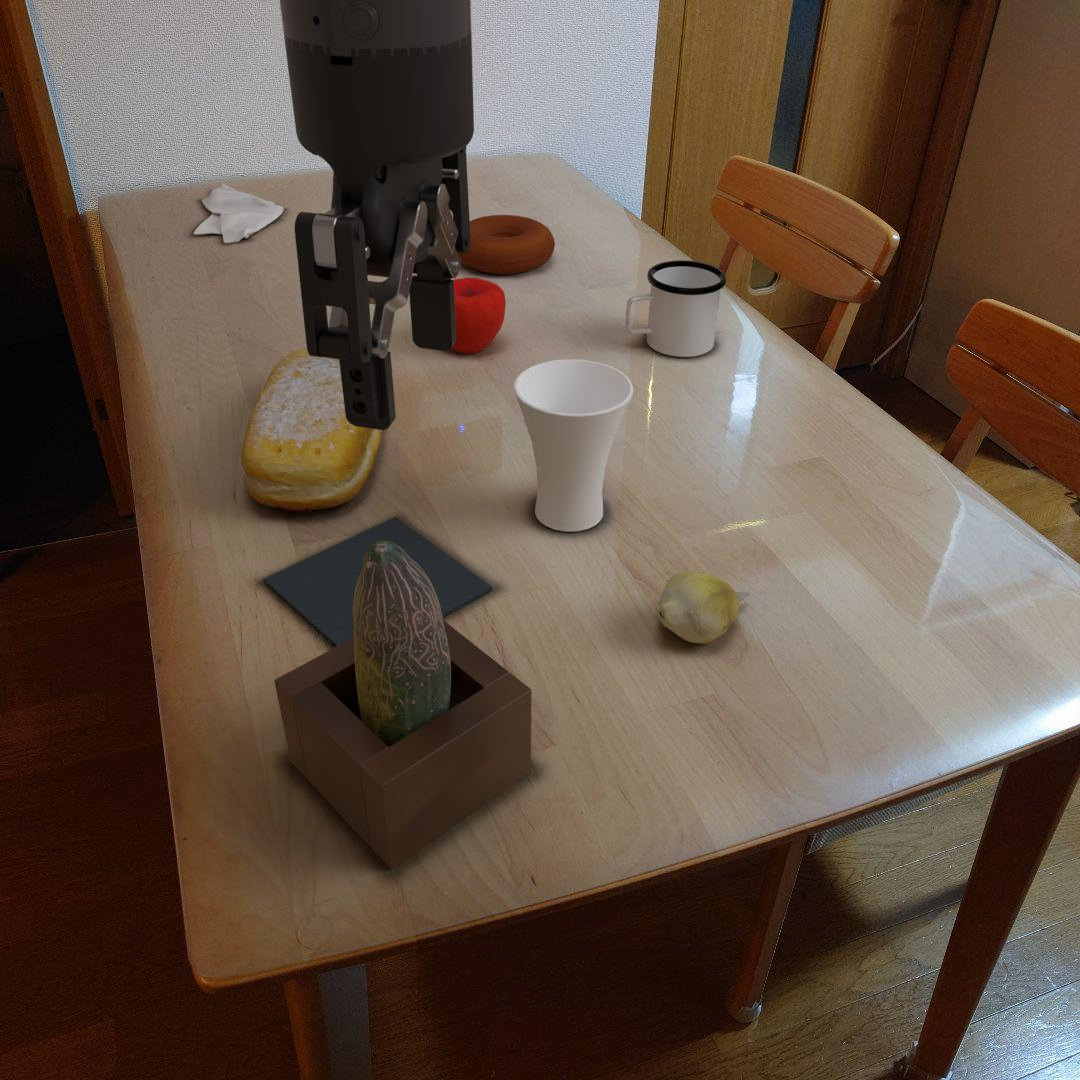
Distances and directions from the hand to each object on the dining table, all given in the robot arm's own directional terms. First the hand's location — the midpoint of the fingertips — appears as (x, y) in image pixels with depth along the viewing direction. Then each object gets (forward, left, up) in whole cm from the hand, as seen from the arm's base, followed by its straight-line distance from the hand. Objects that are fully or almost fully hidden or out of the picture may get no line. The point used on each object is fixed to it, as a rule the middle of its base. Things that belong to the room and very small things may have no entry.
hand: (405, 383), depth 50 cm
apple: (+46, +52, -32) cm, 77 cm away
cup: (+30, +18, -32) cm, 47 cm away
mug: (+65, +36, -32) cm, 81 cm away
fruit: (+27, -1, -32) cm, 42 cm away
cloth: (+49, +114, -32) cm, 128 cm away
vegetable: (0, +3, -32) cm, 32 cm away
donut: (+68, +71, -32) cm, 103 cm away
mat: (+10, +21, -31) cm, 39 cm away
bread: (+19, +44, -32) cm, 57 cm away
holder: (0, +3, -31) cm, 31 cm away
